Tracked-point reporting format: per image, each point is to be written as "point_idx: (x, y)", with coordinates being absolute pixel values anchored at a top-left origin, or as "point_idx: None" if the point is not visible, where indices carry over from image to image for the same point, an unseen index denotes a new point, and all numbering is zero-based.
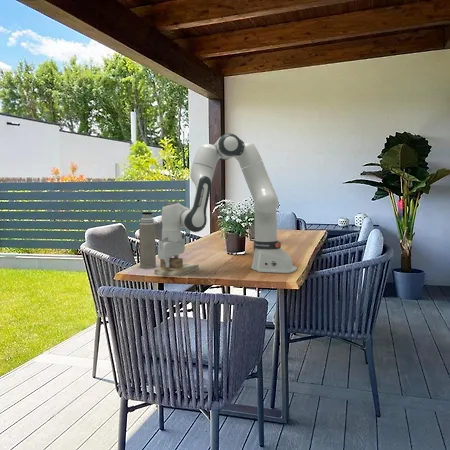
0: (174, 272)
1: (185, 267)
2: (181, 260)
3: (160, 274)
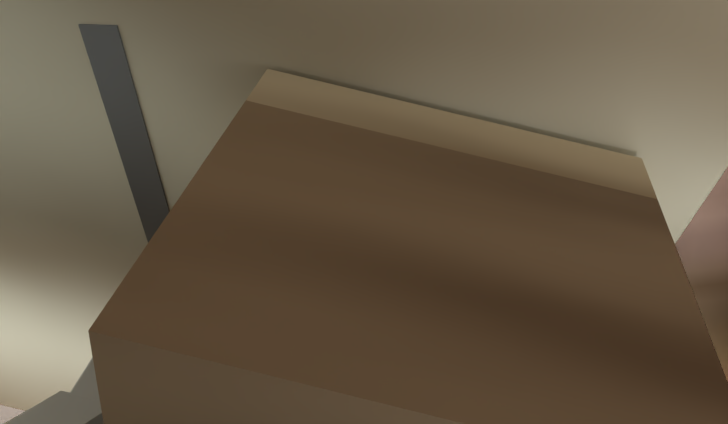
0: (691, 199)
1: (28, 33)
2: (263, 295)
3: None
